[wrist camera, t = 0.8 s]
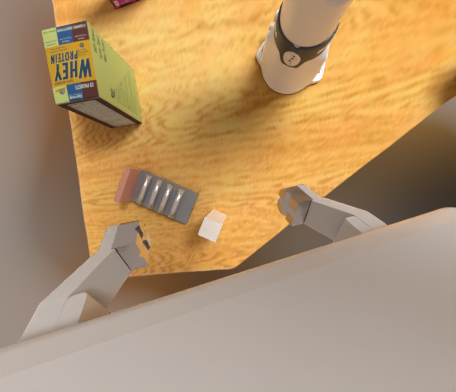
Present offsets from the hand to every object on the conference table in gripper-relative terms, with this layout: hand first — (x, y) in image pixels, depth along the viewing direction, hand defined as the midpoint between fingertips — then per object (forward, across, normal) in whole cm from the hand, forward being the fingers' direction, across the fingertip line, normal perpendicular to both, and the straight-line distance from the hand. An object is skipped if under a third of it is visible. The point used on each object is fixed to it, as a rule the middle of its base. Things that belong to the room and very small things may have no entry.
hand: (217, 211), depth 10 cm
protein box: (+57, +15, 0) cm, 59 cm away
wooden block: (+29, -5, +30) cm, 42 cm away
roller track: (+38, +10, +24) cm, 46 cm away
